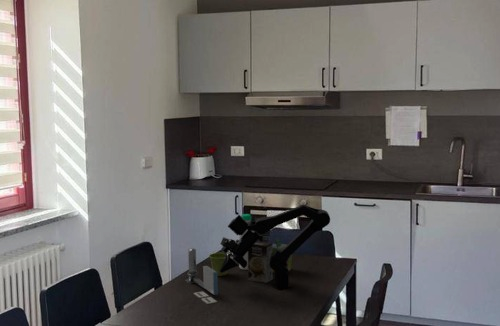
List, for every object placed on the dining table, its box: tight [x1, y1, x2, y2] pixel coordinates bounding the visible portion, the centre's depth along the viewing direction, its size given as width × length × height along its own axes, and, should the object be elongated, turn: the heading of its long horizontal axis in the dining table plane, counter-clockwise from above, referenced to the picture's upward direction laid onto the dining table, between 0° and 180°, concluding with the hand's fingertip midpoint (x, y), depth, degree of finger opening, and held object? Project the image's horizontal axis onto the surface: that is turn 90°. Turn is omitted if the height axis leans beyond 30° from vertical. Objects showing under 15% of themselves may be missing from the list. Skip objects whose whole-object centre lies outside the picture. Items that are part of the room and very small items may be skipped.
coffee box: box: [247, 240, 274, 284], centre depth 268 cm, size 9×6×16 cm
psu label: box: [193, 291, 210, 299], centre depth 249 cm, size 6×4×1 cm, turn 27°
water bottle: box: [238, 213, 254, 271], centre depth 285 cm, size 7×7×25 cm
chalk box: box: [272, 237, 293, 274], centre depth 281 cm, size 9×9×15 cm
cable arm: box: [194, 265, 219, 296], centre depth 255 cm, size 22×2×9 cm, turn 27°
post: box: [185, 248, 199, 285], centre depth 267 cm, size 5×5×14 cm
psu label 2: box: [200, 296, 218, 305], centre depth 242 cm, size 6×4×1 cm, turn 27°
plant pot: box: [208, 252, 228, 277], centre depth 277 cm, size 9×9×9 cm
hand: (220, 271), depth 254 cm, fingers closed
